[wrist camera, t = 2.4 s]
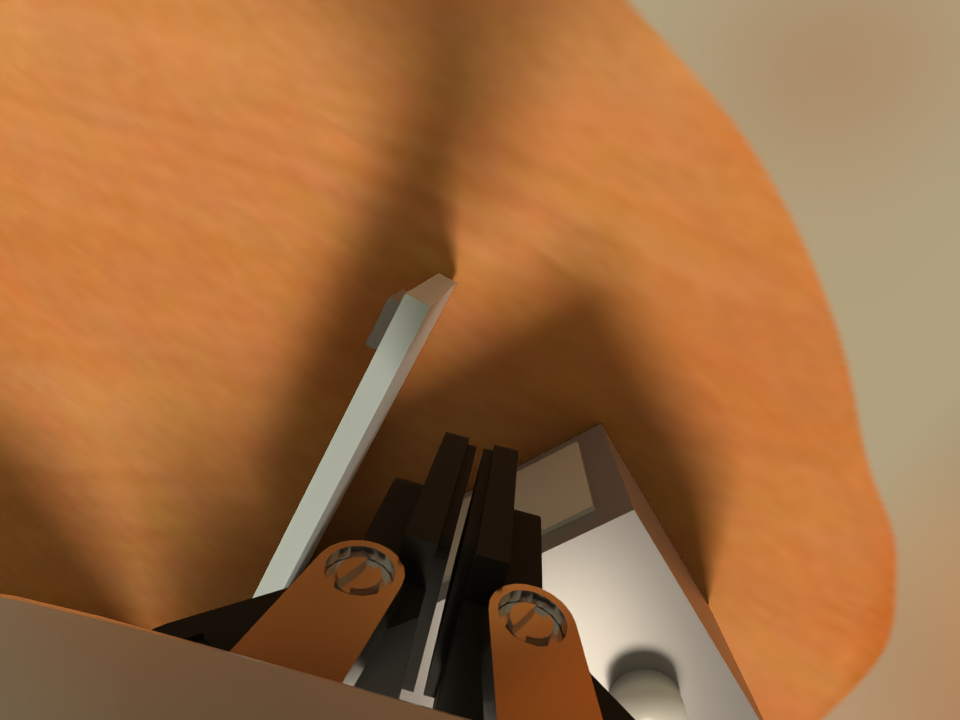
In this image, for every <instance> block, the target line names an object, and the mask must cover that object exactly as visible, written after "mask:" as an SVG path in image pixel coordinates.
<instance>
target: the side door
mask: <svg viewBox="0 0 960 720" xmlns="http://www.w3.org/2000/svg"><path fill="white" fill-rule="evenodd" d="M455 285H456V282H454V281H452V280H451V279H449V278H447V277H445V276H443V275H442V274H440V273H438V274H436V275H435V276H433V277H431V278H430V279H428V280H426V281H425V282H423V283H421V284H420V285H418V286H417V287H415V288H413V289H412V290H410V291H406V290H404V289H402V290H400V291H398V292H396V293H394V294H393V295H391V296H389V297H388V299H387V301H386V303H385V305H384V307H383V309H382V311H381V314H380V316H379V318H378V320H377V322H376V324H375V326H374V328H373V330H372V332H371V334H370V336H369V338H368V340H367V342H366V344H365V345H367V346H369V347H370V348H372V349H374V350H376V353H375V355H374V357H373V359H372V361H371V363H370V365H369V367H368V369H367V371H366V373H365V375H364V377H363V379H362V381H361V383H360V385H359V387H358V389H357V390H356V392H355V394H354V396H353V398H352V400H351V402H350V404H349V406H348V408H347V410H346V412H345V414H344V416H343V418H342V420H341V422H340V424H339V426H338V428H337V430H336V432H335V434H334V436H333V438H332V440H331V442H330V444H329V446H328V448H327V450H326V452H325V454H324V456H323V458H322V460H321V462H320V464H319V466H318V468H317V470H316V472H315V474H314V476H313V478H312V480H311V482H310V484H309V486H308V488H307V490H306V492H305V494H304V496H303V498H302V500H301V502H300V504H299V506H298V508H297V510H296V512H295V514H294V516H293V518H292V520H291V522H290V524H289V526H288V528H287V530H286V532H285V534H284V536H283V538H282V540H281V542H280V544H279V546H278V548H277V550H276V552H275V554H274V556H273V558H272V560H271V562H270V564H269V566H268V568H267V570H266V572H265V574H264V576H263V578H262V580H261V582H260V584H259V586H258V588H257V590H256V592H255V594H254V596H253V598H255V597H258V596H261V595H265V594H268V593H271V592H275V591H278V590H282V589H285V588H288V587H290V586H291V585H292V583H293V582H294V581H295V580H296V579H297V578H298V577H299V576H300V575H301V574H302V573H303V572H304V570H305V569H306V568H307V567H308V566H309V565H310V564H311V563H312V562H313V560H312V556H313V554H314V552H315V550H316V548H317V546H318V544H319V542H320V541H321V539H322V537H323V535H324V533H325V531H326V529H327V527H328V525H329V524H330V522H331V520H332V518H333V516H334V514H335V512H336V510H337V508H338V507H339V505H340V503H341V501H342V499H343V497H344V495H345V493H346V491H347V489H348V488H349V486H350V484H351V482H352V480H353V478H354V476H355V474H356V472H357V471H358V469H359V467H360V465H361V463H362V461H363V459H364V457H365V455H366V454H367V452H368V450H369V448H370V446H371V444H372V442H373V440H374V438H375V436H376V435H377V433H378V431H379V429H380V427H381V425H382V423H383V421H384V419H385V418H386V416H387V414H388V412H389V410H390V408H391V406H392V404H393V402H394V401H395V399H396V397H397V395H398V393H399V391H400V389H401V387H402V385H403V383H404V382H405V380H406V378H407V376H408V374H409V372H410V370H411V368H412V366H413V365H414V363H415V361H416V359H417V357H418V355H419V353H420V351H421V349H422V348H423V346H424V344H425V342H426V340H427V338H428V336H429V334H430V332H431V330H432V329H433V327H434V325H435V323H436V321H437V319H438V317H439V315H440V313H441V312H442V310H443V308H444V306H445V304H446V302H447V300H448V298H449V296H450V295H451V293H452V291H453V289H454V287H455Z"/></svg>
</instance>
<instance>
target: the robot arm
mask: <svg viewBox="0 0 960 720" xmlns="http://www.w3.org/2000/svg"><path fill="white" fill-rule="evenodd" d="M468 441H469V438H467V437H463V436H460V435H456V434H452V433H448V432H446V433H445V436H444V438H443V441H442V443H441V446H440V448H439V450H438V453H437V455H436V458H435V460H434V463H433V465H432V467H431V470H430V472H429V475H428V477H427V480H426V482H425V484H424V485H422V484H418V483H415V482H411V481H407V480H404V479H400V478H396V479H395V480H394V482H393V484H392V485H391V487H390V489H389V491H388V493H387V495H386V497H385V499H384V501H383V502H382V504H381V506H380V508H379V510H378V512H377V514H376V516H375V517H374V519H373V521H372V523H371V525H370V527H369V529H368V531H367V532H366V534H365V536H364V538H363V540H350V541H343V542H339V543H337V544H334V545H332V546H329V547H328V548H327V549H325V550H324V551H323V552H321V553H320V554H319V555H318V556H317V558H316V559H315V560H314V561H313V562H312V563H311V564H310V565H309V566H308V567H307V568H306V569H305V570H304V572H303V573H302V574H301V575H300V576H299V577H298V578H297V579H296V580H295V581H294V582H293V583H292V585H291V586H290V587H288V588H285V589H282V590H278V591H275V592H271V593H268V594H265V595H261V596H258V597H255V598H251V599H248V600H245V601H241V602H238V603H235V604H231V605H228V606H224V607H221V608H218V609H214V610H211V611H208V612H204V613H201V614H198V615H194V616H191V617H188V618H184V619H181V620H177V621H174V622H171V623H167V624H165V625H162V626H160V627H157V628H155V629H152V630H149V629H145V628H142V627H138V626H134V625H131V624H127V623H123V622H120V621H116V620H113V619H109V618H105V617H102V616H98V615H94V614H89V613H85V612H81V611H77V610H73V609H69V608H64V607H60V606H56V605H52V604H48V603H43V602H39V601H35V600H31V599H27V598H22V597H18V596H13V595H6V594H0V720H635V719H634V718H633V717H632V716H631V715H630V714H629V713H628V711H627V710H626V709H625V708H624V707H623V706H622V705H621V704H620V703H619V702H618V701H617V700H616V699H615V698H614V697H613V696H612V695H611V694H610V693H609V692H608V691H607V690H606V689H605V688H604V687H603V686H602V685H601V684H600V683H599V681H598V680H597V679H596V678H595V677H594V676H593V675H592V674H591V673H590V671H589V668H588V664H587V661H586V657H585V654H584V650H583V646H582V643H581V639H580V636H579V632H578V629H577V625H576V622H575V620H574V618H573V616H572V614H571V612H570V611H569V609H568V608H567V607H566V606H565V605H564V603H563V602H561V601H560V600H559V599H558V598H556V597H555V596H554V595H553V594H551V593H549V592H547V591H545V590H543V589H542V537H541V517H540V516H538V515H534V514H530V513H527V512H523V511H519V510H515V509H514V503H515V489H516V475H517V461H518V451H516V450H513V449H509V448H505V447H501V446H497V445H495V446H494V449H493V451H491V450H488V449H484V451H483V455H482V458H481V462H480V466H479V470H478V473H477V477H476V481H475V485H474V489H473V492H472V496H471V500H470V504H469V507H468V511H467V515H466V519H465V523H464V526H463V530H462V534H461V538H460V541H459V545H458V549H457V553H456V557H455V561H454V565H453V569H452V574H451V578H450V582H449V586H448V591H447V595H446V599H445V603H444V608H443V612H442V616H441V621H440V625H439V629H438V633H437V638H436V642H435V646H434V651H433V655H432V659H431V663H430V668H429V672H428V676H427V680H426V685H425V689H424V694H423V695H425V696H428V697H432V698H434V703H433V708H429V707H425V706H422V705H418V704H415V703H411V702H408V701H404V700H401V699H399V698H400V694H401V690H402V689H404V690H407V691H411V692H414V689H415V685H416V681H417V677H418V673H419V669H420V665H421V662H422V658H423V654H424V650H425V646H426V642H427V639H428V635H429V631H430V627H431V623H432V619H433V616H434V612H435V608H436V604H437V600H438V596H439V592H440V589H441V585H442V581H443V577H444V573H445V569H446V566H447V562H448V558H449V554H450V550H451V546H452V542H453V538H454V534H455V530H456V526H457V523H458V519H459V515H460V511H461V507H462V503H463V499H464V495H465V491H466V487H467V483H468V479H469V475H470V471H471V467H472V463H473V459H474V455H475V451H476V446H473V445H469V444H468Z"/></svg>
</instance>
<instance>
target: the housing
mask: <svg viewBox="0 0 960 720" xmlns="http://www.w3.org/2000/svg"><path fill="white" fill-rule="evenodd" d="M472 492H473V490H471V491H469V492H467V493H465V495H464V499H463V503H462V507H461V511H460V515H459V519H458V523H457V526H456V530H455V534H454V538H453V542H452V546H451V550H450V554H449V558H448V562H447V566H446V569H445V573H444V577H443V581H442V585H441V589H440V592H439V596H438V600H437V604H436V608H435V612H434V616H433V619H432V623H431V627H430V631H429V635H428V639H427V642H426V646H425V650H424V654H423V658H422V662H421V665H420V669H419V673H418V677H417V681H416V685H415V689H414V692H411V691H407V690H404V689H402V690H401V694H400V698H399V699H401V700H404V701H408V702H411V703H415V704H418V705H422V706H425V707H429V708H433V703H434V698H432V697H428V696H425V695H423V694H424V689H425V685H426V680H427V676H428V672H429V668H430V663H431V659H432V655H433V651H434V646H435V642H436V638H437V633H438V629H439V625H440V621H441V616H442V612H443V608H444V603H445V599H446V595H447V591H448V586H449V582H450V578H451V574H452V569H453V565H454V561H455V557H456V553H457V549H458V545H459V541H460V538H461V534H462V530H463V526H464V523H465V519H466V515H467V511H468V507H469V504H470V500H471V496H472ZM514 509H515V510H519V511H523V512H527V513H530V514H534V515H538V516H540V517H541V537H542V589H543V590H545V591H547V592H549V593H551V594H553V595H554V596H555V597H556V598H558V599H559V600H560V601H561V602H563V603H564V605H565V606H566V607H567V608H568V609H569V611H570V612H571V614H572V616H573V618H574V620H575V622H576V625H577V629H578V632H579V636H580V639H581V643H582V646H583V650H584V654H585V657H586V661H587V664H588V668H589V671H590V673H591V674H592V675H593V676H594V677H595V678H596V679H597V680H598V681H599V683H600V684H601V685H602V686H603V687H604V688H605V689H606V690H607V691H608V692H609V693H610V694H611V695H612V696H613V697H614V698H615V699H616V700H617V701H618V702H619V703H620V704H621V705H622V706H623V707H624V708H625V709H626V710H627V711H628V713H629V714H630V715H631V716H632V717H633V718H634V719H635V720H763V718H762V716H761V714H760V712H759V710H758V707H757V705H756V703H755V701H754V699H753V697H752V695H751V693H750V691H749V689H748V687H747V685H746V682H745V680H744V678H743V676H742V674H741V672H740V670H739V668H738V666H737V664H736V662H735V660H734V658H733V655H732V653H731V651H730V649H729V647H728V645H727V643H726V641H725V639H724V637H723V635H722V633H721V630H720V628H719V626H718V624H717V622H716V620H715V618H714V616H713V614H712V612H711V610H710V608H709V606H708V604H707V602H706V601H705V599H704V597H703V595H702V594H701V592H700V590H699V589H698V587H697V585H696V584H695V582H694V580H693V578H692V577H691V575H690V573H689V572H688V570H687V568H686V567H685V565H684V563H683V561H682V560H681V558H680V556H679V555H678V553H677V551H676V550H675V548H674V546H673V545H672V543H671V541H670V539H669V538H668V536H667V534H666V533H665V531H664V529H663V528H662V526H661V524H660V522H659V521H658V519H657V517H656V516H655V514H654V512H653V511H652V509H651V507H650V505H649V504H648V502H647V500H646V499H645V497H644V495H643V494H642V492H641V490H640V489H639V487H638V485H637V483H636V482H635V480H634V478H633V477H632V475H631V473H630V472H629V470H628V468H627V466H626V465H625V463H624V461H623V460H622V458H621V456H620V455H619V453H618V451H617V449H616V448H615V446H614V444H613V443H612V441H611V439H610V438H609V436H608V434H607V433H606V431H605V429H604V427H603V426H602V424H599V425H597V426H595V427H593V428H591V429H589V430H587V431H585V432H583V433H581V434H579V435H577V436H575V437H574V438H572V439H570V440H568V441H566V442H564V443H562V444H560V445H558V446H556V447H554V448H552V449H550V450H548V451H546V452H544V453H542V454H541V455H539V456H537V457H535V458H533V459H531V460H529V461H527V462H525V463H523V464H521V465H519V466H517V475H516V489H515V503H514Z"/></svg>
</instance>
